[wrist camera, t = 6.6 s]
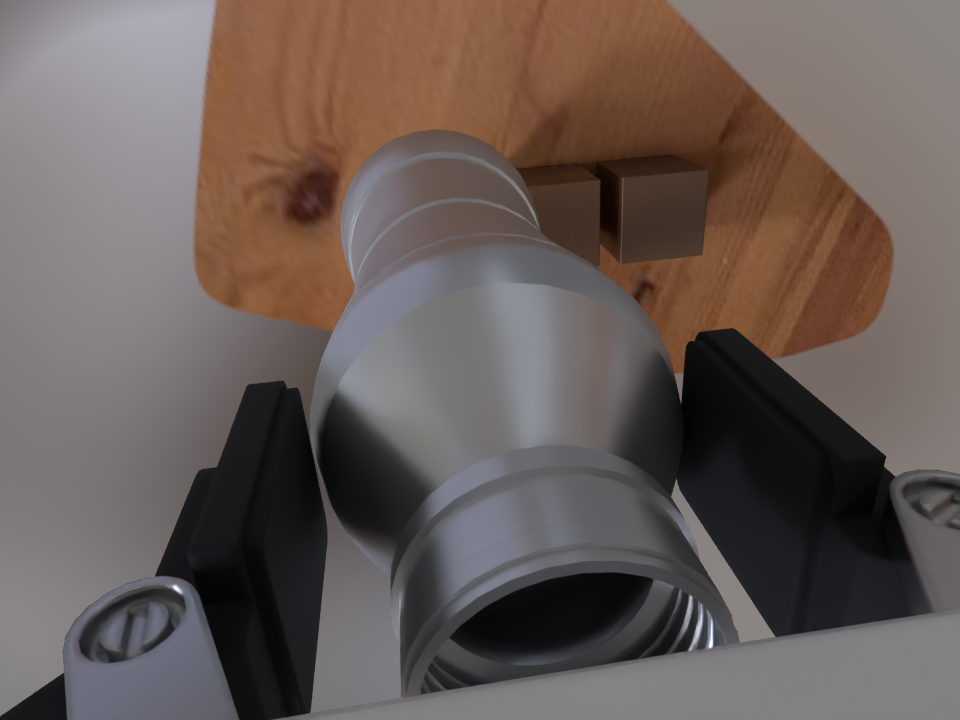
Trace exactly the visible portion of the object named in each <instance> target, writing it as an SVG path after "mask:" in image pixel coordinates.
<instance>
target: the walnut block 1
mask: <svg viewBox="0 0 960 720" xmlns="http://www.w3.org/2000/svg"><path fill="white" fill-rule="evenodd" d="M516 170H517V171H518V172H519V174H520V175H521V176H522V178H523V180H524V182H525V184H526V186H527V188H528V190H529V192H530V193H531V197H532V200H533V203H534V206H535V209H536V213H537V216H538V220H539V223H540V232H541V233H543V234H544V235H545V236H546V237H547V238H548V239H549V240H550V241H552V242H554V243H556V244H558V245H559V246H561V247H563V248H565V249H567V250H568V251H570V252H572V253H574V254H576V255H577V256H579V257H581V258H583V259H585V260H587V261H589V262H590V263H592V264H593V265H594V266H595V267H597V266H599V254H600V179H598V178H597V177H595V176H594V175H593V174H591V173H590V172H588V171H587V170H585V169H584V168H582V167H581V166H579V165H578V164H568V165H557V166H546V167H536V168H525V169H516Z"/></svg>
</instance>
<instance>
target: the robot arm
mask: <svg viewBox="0 0 960 720" xmlns="http://www.w3.org/2000/svg"><path fill="white" fill-rule="evenodd" d="M681 407H682V411H683V416H684V435H683V451H682V456H681V460H680V465H679V469H678V474H677V481H678V485H679V488H680V491H681V493H682V494H683V496H684V497H685V499H686V500H687V502H688V503H689V505H690V506H691V508H692V509H693V511H694V513H695V514H696V516H697V517H698V519H699V520H700V522H701V523H702V525H703V526H704V528H705V529H706V531H707V532H708V534H709V536H710V537H711V539H712V540H713V542H714V543H715V545H716V546H717V548H718V549H719V551H720V552H721V554H722V556H723V557H724V559H725V560H726V562H727V563H728V565H729V566H730V568H731V569H732V570H733V572H734V574H735V576H736V577H737V579H738V580H739V582H740V583H741V585H742V586H743V588H744V589H745V591H746V592H747V594H748V595H749V597H750V598H751V600H752V602H753V603H754V605H755V606H756V608H757V609H758V611H759V612H760V614H761V615H762V617H763V618H764V620H765V621H766V623H767V624H768V626H769V628H770V629H771V631H772V632H773V634H774V635H775V636H776V637H774V638H768V639H761V640H755V641H749V642H743V643H736V644H730V645H724V646H717V647H711V648H705V649H698V650H692V651H686V652H680V653H673V654H667V655H661V656H655V657H648V658H642V659H636V660H630V661H624V662H617V663H611V664H605V665H599V666H593V667H586V668H580V669H574V670H568V671H562V672H555V673H549V674H543V675H537V676H531V677H525V678H519V679H513V680H507V681H501V682H495V683H489V684H483V685H477V686H471V687H465V688H459V689H453V690H447V691H441V692H435V693H429V694H423V695H417V696H411V697H405V698H399V699H393V700H387V701H381V702H375V703H369V704H363V705H357V706H350V707H345V708H339V709H333V710H327V711H321V712H315V713H310V710H311V701H312V692H313V682H314V672H315V662H316V651H317V641H318V631H319V621H320V610H321V601H322V590H323V580H324V570H325V560H326V550H327V523H326V516H325V512H324V507H323V502H322V497H321V492H320V487H319V483H318V478H317V473H316V468H315V464H314V458H313V453H312V449H311V444H310V439H309V434H308V429H307V425H306V420H305V415H304V410H303V405H302V400H301V396H300V392H299V390H298V388H290V389H287V387H286V384H285V382H284V381H275V382H266V383H258V384H249V385H248V386H247V387H246V390H245V392H244V395H243V398H242V401H241V403H240V406H239V409H238V412H237V414H236V417H235V420H234V423H233V425H232V428H231V431H230V433H229V436H228V439H227V442H226V444H225V447H224V450H223V452H222V456H221V458H220V461H219V463H218V466H217V467H216V468H208V469H202V470H200V471H199V472H198V473H197V475H196V477H195V479H194V481H193V484H192V486H191V489H190V491H189V494H188V496H187V499H186V501H185V504H184V506H183V509H182V511H181V513H180V516H179V518H178V521H177V523H176V526H175V528H174V531H173V533H172V536H171V538H170V540H169V543H168V546H167V548H166V550H165V553H164V556H163V558H162V560H161V563H160V565H159V567H158V570H157V573H156V575H155V577H149V578H144V579H140V580H137V581H134V582H130V583H127V584H125V585H122V586H121V587H118V588H117V589H114V590H112V591H110V592H108V593H106V594H105V595H103V596H102V597H101V598H99V599H98V600H96V601H95V602H94V603H92V604H91V605H89V606H88V607H87V608H86V609H85V610H84V611H83V612H82V614H81V615H80V616H79V617H78V618H77V619H76V620H75V621H74V623H73V624H72V626H71V628H70V629H69V631H68V633H67V635H66V636H65V643H64V647H63V662H64V673H63V674H61V675H60V676H59V677H57V678H56V679H54V680H53V681H51V682H50V683H48V684H47V685H45V686H44V687H42V688H41V689H40V690H38V691H37V692H35V693H34V694H32V695H31V696H29V697H28V698H26V699H25V700H23V701H22V702H21V703H19V704H18V705H17V706H15V707H13V708H12V709H10V710H9V711H8V712H6V713H5V714H3V715H2V716H0V720H960V474H956V473H952V472H946V471H940V470H915V471H909V472H904V473H902V474H900V475H899V476H897V477H895V476H894V475H893V474H892V473H890V472H889V471H888V470H887V469H886V468H885V467H884V463H885V459H886V456H885V455H884V454H883V453H882V452H880V451H879V450H878V449H877V448H876V447H874V446H873V445H872V444H871V443H870V442H868V441H867V440H866V439H865V438H864V437H863V436H861V435H860V434H859V433H858V432H857V431H855V430H854V429H853V428H852V427H851V426H850V425H848V424H847V423H846V422H845V421H843V420H842V419H841V418H840V417H839V416H838V415H836V414H835V413H834V412H833V411H832V410H830V409H829V408H828V407H827V406H826V405H824V404H823V403H822V402H821V401H820V400H819V399H818V398H816V397H815V396H814V395H813V394H811V393H810V392H809V391H808V390H807V389H806V388H804V387H803V386H802V385H801V384H800V383H799V382H797V381H796V380H795V379H794V378H792V377H791V376H790V375H789V374H788V373H787V372H785V371H784V370H783V369H782V368H781V367H780V366H778V365H777V364H776V363H775V362H774V361H772V360H771V359H770V358H769V357H768V356H767V355H765V354H764V353H763V352H762V351H761V350H759V349H758V348H757V347H756V346H755V345H753V344H752V343H751V342H750V341H749V340H748V339H746V338H745V337H744V336H743V335H742V334H740V333H739V332H738V331H737V330H735V329H733V328H730V329H722V330H713V331H704V332H699V333H698V334H697V336H696V339H695V341H690V342H689V343H688V344H687V346H686V351H685V363H684V376H683V389H682V402H681Z"/></svg>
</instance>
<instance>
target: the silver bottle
mask: <svg viewBox="0 0 960 720" xmlns="http://www.w3.org/2000/svg"><path fill="white" fill-rule="evenodd" d="M341 242H342V246H343V250H344V255H345V259H346V263H347V266H348V270H349V272H350V275H351V277H352V279H353V281H354V284H355V287H354V292H353V295H352V297H351V299H350V300H349V302H348V304H347V306H346V308H345V310H344V312H343V313H342V315H341V317H340V319H339V321H338V322H337V324H336V326H335V328H334V330H333V333H332V335H331V338H330V340H329V343H328V345H327V347H326V350H325V352H324V354H323V357H322V360H321V364H320V367H319V370H318V373H317V376H316V379H315V385H314V391H313V397H312V402H311V408H310V427H311V444H312V449H313V452H314V456H315V459H316V463H317V466H318V470H319V473H320V476H321V479H322V482H323V485H324V487H325V490H326V493H327V495H328V498H329V501H330V503H331V506H332V508H333V509H334V511H335V513H336V515H337V517H338V519H339V520H340V522H341V524H342V526H343V527H344V529H345V531H346V533H347V534H348V535H349V536H350V537H351V539H352V540H353V541H354V542H355V543H356V544H357V545H358V547H359V548H360V549H361V550H362V551H363V552H364V553H365V554H366V556H367V557H368V558H370V559H371V560H372V561H373V562H374V563H375V564H376V565H378V566H379V567H380V568H381V569H382V570H383V571H384V572H385V573H387V574H388V575H389V576H390V577H391V619H392V623H393V626H394V630H395V634H396V638H397V641H398V642H399V644H400V662H401V663H400V664H401V698H405V697H411V696H417V695H423V694H429V693H435V692H441V691H447V690H453V689H459V688H465V687H471V686H477V685H483V684H489V683H495V682H501V681H507V680H513V679H519V678H525V677H531V676H537V675H543V674H549V673H555V672H562V671H568V670H574V669H580V668H586V667H593V666H599V665H605V664H611V663H617V662H624V661H630V660H636V659H642V658H648V657H655V656H661V655H667V654H673V653H680V652H686V651H692V650H698V649H705V648H711V647H717V646H724V645H730V644H736V643H740V642H739V637H738V633H737V630H736V628H735V626H734V624H733V620H732V615H731V613H730V611H729V609H728V607H727V606H726V604H725V602H724V600H723V598H722V596H721V594H720V593H719V591H718V590H717V588H716V586H715V585H714V583H713V581H712V580H711V578H710V577H709V575H708V573H707V571H706V570H705V568H704V567H703V565H702V563H701V562H700V559H699V554H698V550H697V546H696V542H695V538H694V536H693V534H692V533H691V531H690V528H689V527H688V525H687V523H686V521H685V519H684V517H683V516H682V514H681V512H680V511H679V509H678V508H677V506H676V504H675V503H674V501H673V499H672V498H671V495H672V492H673V488H674V485H675V481H676V478H677V474H678V469H679V465H680V460H681V456H682V451H683V435H684V416H683V411H682V407H681V402H680V398H679V393H678V389H677V384H676V380H675V376H674V371H673V367H672V362H671V358H670V355H669V352H668V350H667V348H666V346H665V344H664V342H663V340H662V338H661V336H660V333H659V331H658V329H657V327H656V325H655V324H654V323H653V321H652V320H651V319H650V318H649V316H648V315H647V314H646V313H645V311H644V310H643V309H642V307H641V306H640V305H639V304H638V302H637V301H636V300H635V299H634V298H633V297H632V296H631V295H629V294H628V293H627V292H626V291H625V290H623V289H622V288H621V287H620V286H619V285H617V284H616V283H615V282H614V281H613V280H611V279H610V278H609V277H608V276H606V275H605V274H604V273H603V272H601V271H600V270H599V269H598V268H597V267H595V266H594V265H593V264H592V263H590V262H589V261H587V260H585V259H583V258H581V257H579V256H577V255H576V254H574V253H572V252H570V251H568V250H567V249H565V248H563V247H561V246H559V245H558V244H556V243H554V242H552V241H550V240H549V239H548V238H547V237H546V236H545V235H544V234H543V233H541V232H540V223H539V220H538V216H537V213H536V209H535V206H534V203H533V200H532V197H531V193H530V192H529V190H528V188H527V186H526V184H525V182H524V180H523V178H522V176H521V175H520V174H519V172H518V171H517V170H516V169H515V167H514V166H513V165H512V164H511V162H510V161H509V160H508V159H507V158H506V157H505V156H503V155H502V154H501V153H500V152H499V151H497V150H496V149H495V148H494V147H492V146H490V145H489V144H487V143H485V142H483V141H481V140H479V139H478V138H476V137H473V136H470V135H466V134H463V133H460V132H456V131H447V130H427V131H419V132H413V133H410V134H408V135H405V136H402V137H399V138H396V139H394V140H392V141H391V142H389V143H388V144H386V145H384V146H383V147H381V148H380V149H378V150H377V151H376V152H375V153H374V154H373V155H372V156H371V157H370V158H369V159H368V160H367V161H366V162H364V163H363V165H362V166H361V168H360V169H359V171H358V172H357V174H356V175H355V177H354V178H353V180H352V181H351V184H350V186H349V189H348V191H347V194H346V196H345V199H344V203H343V208H342V214H341Z"/></svg>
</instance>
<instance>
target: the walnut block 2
mask: <svg viewBox="0 0 960 720" xmlns="http://www.w3.org/2000/svg"><path fill="white" fill-rule="evenodd" d="M597 178H598V179H600V244H601V245H602V246H603V247H604V248H605V249H606V250H607V251H608V252H609V253H610V254H611V255H612V256H613V257H614V258H615V259H616V260H617V261H618V262H619V263H621V264H624V263H633V262H642V261H652V260H661V259H670V258H679V257H689V256H698V255H702V253H703V241H704V229H705V216H706V204H707V192H708V180H709V169H707V168H705V167H702V166H700V165H698V164H695V163H693V162H691V161H688V160H686V159H684V158H681V157H679V156H677V155H665V156H654V157H643V158H633V159H622V160H611V161H601V162H597Z"/></svg>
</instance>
